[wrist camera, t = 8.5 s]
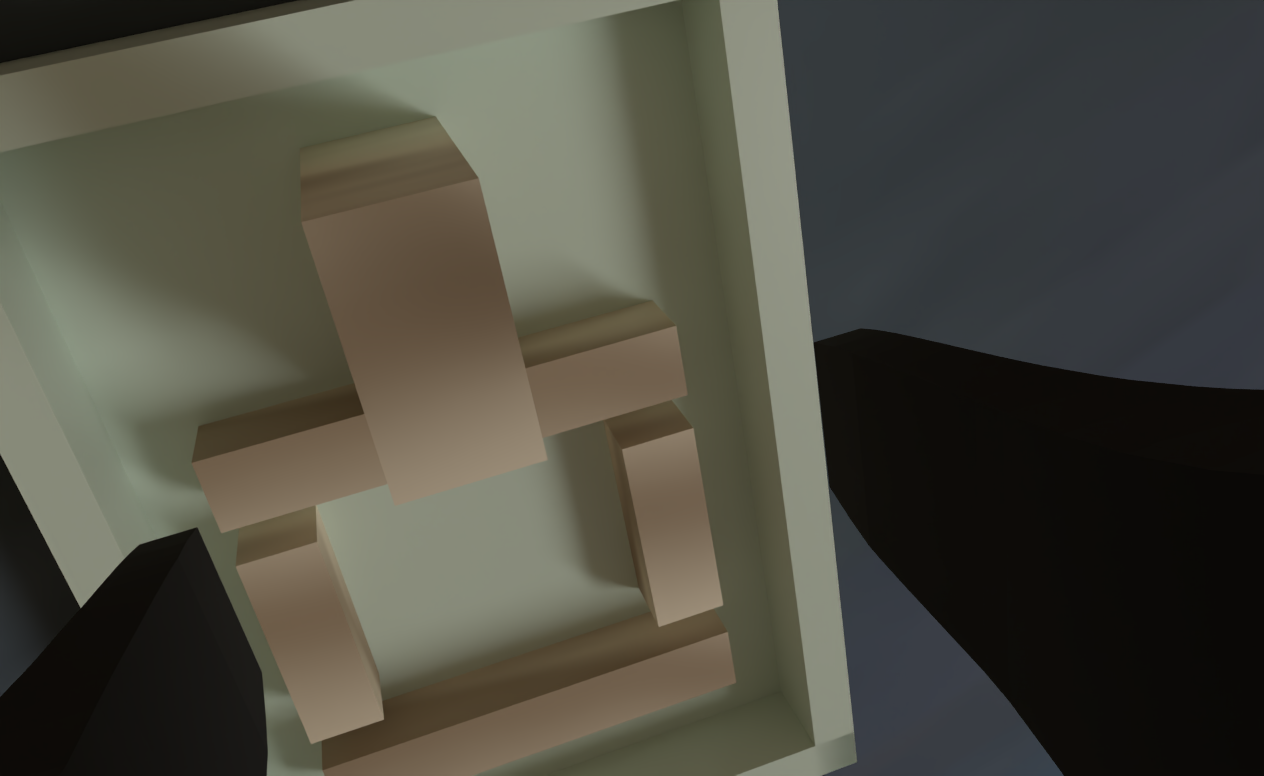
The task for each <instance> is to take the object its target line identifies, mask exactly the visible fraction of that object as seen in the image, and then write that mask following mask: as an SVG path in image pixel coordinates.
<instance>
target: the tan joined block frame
mask: <svg viewBox="0 0 1264 776" xmlns="http://www.w3.org/2000/svg"><path fill="white" fill-rule="evenodd" d="M300 184H301V223H302V226H303V229H304V232H305V235H306V238H307V241H308V244H309V248H310V251H311V254H312V257H313V260H314V263H315V266H316V269H317V272H318V275H319V278H320V281H321V284H322V287H323V290H324V293H325V296H326V299H327V302H328V305H329V308H330V311H331V314H332V317H333V320H334V323H335V326H336V329H337V332H338V335H339V338H340V341H341V344H342V347H343V350H344V354H345V357H346V360H347V363H348V366H349V369H350V372H351V375H352V378H353V381H354V383H353V384H349V385H346V386H342V387H338V388H335V389H331V390H328V391H324V392H320V393H317V394H313V395H309V396H306V397H302V398H299V399H295V400H291V401H288V402H284V403H281V404H277V405H273V406H270V407H266V408H263V409H259V410H255V411H252V412H248V413H245V414H241V415H237V416H234V417H230V418H227V419H223V420H219V421H216V422H212V423H209V424H205V425H201V426H198V431H197V436H196V441H195V447H194V452H193V457H192V462H191V463H192V466H193V468H194V470H195V473H196V475H197V477H198V480H199V482H200V484H201V487H202V489H203V492H204V494H205V496H206V499H207V501H208V503H209V506H210V508H211V510H212V513H213V515H214V517H215V520H216V522H217V524H218V527H219V529H220V531H221V533H224V532H227V531H231V530H234V529H237V528H239V534H238V545H237V556H236V566H235V567H236V569H237V571H238V574H239V576H240V578H241V581H242V583H243V585H244V588H245V590H246V592H247V595H248V597H249V599H250V602H251V604H252V606H253V609H254V611H255V614H256V616H257V618H258V621H259V623H260V625H261V628H262V630H263V632H264V635H265V637H266V639H267V642H268V644H269V646H270V649H271V651H272V653H273V656H274V658H275V660H276V663H277V665H278V667H279V670H280V672H281V675H282V677H283V679H284V682H285V684H286V686H287V689H288V691H289V693H290V696H291V698H292V700H293V703H294V705H295V707H296V710H297V712H298V714H299V717H300V719H301V721H302V724H303V726H304V728H305V731H306V733H307V736H308V738H309V740H310V743H311V744H313V743H316V742H319V741H322V771H323V773H324V775H325V776H473V775H475V774H478V773H481V772H484V771H487V770H490V769H493V768H495V767H498V766H501V765H504V764H507V763H510V762H512V761H515V760H518V759H521V758H524V757H527V756H529V755H532V754H535V753H538V752H541V751H544V750H547V749H549V748H552V747H555V746H558V745H561V744H564V743H566V742H569V741H572V740H575V739H578V738H581V737H583V736H586V735H589V734H592V733H595V732H598V731H601V730H603V729H606V728H609V727H612V726H615V725H618V724H620V723H623V722H626V721H629V720H632V719H635V718H637V717H640V716H643V715H646V714H649V713H652V712H655V711H657V710H660V709H663V708H666V707H669V706H672V705H674V704H677V703H680V702H683V701H686V700H689V699H691V698H694V697H697V696H700V695H703V694H706V693H709V692H711V691H714V690H717V689H720V688H723V687H726V686H728V685H731V684H734V683H736V677H735V672H734V666H733V660H732V654H731V648H730V642H729V636H728V631H727V630H726V628H725V626H724V625H723V623H722V621H721V620H720V618H719V616H718V615H717V613H716V611H715V610H714V608H717V607H720V606H723V600H722V594H721V588H720V583H719V577H718V571H717V565H716V559H715V553H714V547H713V541H712V535H711V529H710V523H709V517H708V511H707V505H706V499H705V494H704V488H703V482H702V476H701V470H700V464H699V458H698V452H697V446H696V440H695V434H694V428H693V427H692V425H691V424H690V423H689V422H688V420H687V419H686V418H685V416H684V415H683V414H682V413H681V411H680V410H679V409H678V407H677V406H676V405H675V404H674V402H673V401H672V400H673V399H676V398H680V397H683V396H686V395H688V393H687V387H686V381H685V375H684V369H683V363H682V357H681V351H680V345H679V339H678V333H677V327H676V325H675V324H674V323H673V322H672V321H671V320H670V319H669V317H668V316H667V315H666V314H665V313H664V312H663V311H662V310H661V309H660V308H659V307H658V306H657V304H656V303H655V302H654V301H653V300H652V301H648V302H645V303H641V304H638V305H634V306H630V307H627V308H623V309H620V310H616V311H612V312H609V313H605V314H602V315H598V316H594V317H591V318H587V319H584V320H580V321H576V322H573V323H569V324H565V325H562V326H558V327H555V328H551V329H547V330H544V331H540V332H537V333H533V334H529V335H526V336H522V337H519V338H518V336H517V332H516V328H515V324H514V319H513V315H512V311H511V307H510V303H509V299H508V295H507V291H506V287H505V283H504V279H503V275H502V270H501V266H500V262H499V258H498V254H497V250H496V246H495V242H494V238H493V234H492V230H491V226H490V221H489V217H488V213H487V209H486V205H485V201H484V197H483V193H482V189H481V185H480V181H479V178H478V176H477V175H476V173H475V172H474V170H473V169H472V168H471V166H470V165H469V163H468V162H467V160H466V159H465V158H464V156H463V155H462V153H461V152H460V150H459V149H458V148H457V146H456V145H455V143H454V142H453V140H452V139H451V138H450V136H449V135H448V133H447V132H446V130H445V129H444V127H443V126H442V125H441V123H440V122H439V120H438V119H437V117H436V116H435V117H431V118H427V119H422V120H418V121H414V122H410V123H405V124H401V125H397V126H393V127H388V128H384V129H380V130H376V131H371V132H367V133H363V134H359V135H354V136H350V137H346V138H342V139H337V140H333V141H329V142H324V143H320V144H316V145H312V146H307V147H303V148H300ZM602 420H603V422H604V427H605V432H606V436H607V441H608V446H609V450H610V455H611V460H612V464H613V469H614V474H615V479H616V483H617V488H618V493H619V497H620V502H621V507H622V511H623V516H624V521H625V526H626V530H627V535H628V540H629V544H630V549H631V554H632V558H633V563H634V568H635V573H636V577H637V582H638V587H639V589H640V591H641V593H642V595H643V597H644V599H645V601H646V603H647V605H648V607H649V609H650V611H651V612H648V613H645V614H642V615H639V616H636V617H633V618H630V619H627V620H624V621H621V622H618V623H615V624H612V625H609V626H606V627H603V628H600V629H597V630H594V631H591V632H588V633H585V634H582V635H579V636H576V637H573V638H570V639H567V640H564V641H561V642H558V643H555V644H552V645H549V646H546V647H543V648H540V649H537V650H534V651H531V652H528V653H525V654H522V655H519V656H516V657H513V658H510V659H507V660H504V661H501V662H498V663H495V664H492V665H489V666H486V667H483V668H480V669H477V670H474V671H471V672H468V673H465V674H462V675H459V676H456V677H453V678H450V679H447V680H444V681H441V682H438V683H435V684H432V685H429V686H426V687H423V688H420V689H417V690H414V691H411V692H408V693H405V694H402V695H399V696H396V697H393V698H390V699H387V700H384V701H382V696H381V686H380V677H379V672H378V669H377V666H376V664H375V661H374V658H373V656H372V653H371V650H370V648H369V645H368V642H367V639H366V637H365V634H364V631H363V629H362V626H361V623H360V621H359V618H358V615H357V612H356V610H355V607H354V604H353V602H352V599H351V596H350V594H349V591H348V588H347V585H346V583H345V580H344V577H343V575H342V572H341V569H340V567H339V564H338V561H337V559H336V556H335V553H334V550H333V548H332V545H331V542H330V540H329V537H328V534H327V532H326V529H325V526H324V523H323V521H322V518H321V515H320V513H319V510H318V507H317V505H318V504H322V503H325V502H329V501H332V500H335V499H339V498H342V497H345V496H349V495H352V494H356V493H359V492H362V491H366V490H369V489H372V488H376V487H379V486H383V485H386V484H388V487H389V490H390V493H391V496H392V499H393V502H394V505H395V506H396V505H400V504H403V503H406V502H410V501H413V500H416V499H420V498H423V497H426V496H430V495H433V494H436V493H440V492H443V491H446V490H450V489H453V488H456V487H460V486H463V485H466V484H470V483H473V482H476V481H480V480H483V479H486V478H490V477H493V476H496V475H499V474H503V473H506V472H509V471H513V470H516V469H519V468H523V467H526V466H529V465H533V464H536V463H539V462H543V461H546V460H548V458H547V454H546V450H545V446H544V442H543V438H545V437H548V436H551V435H555V434H558V433H561V432H565V431H568V430H572V429H575V428H578V427H582V426H585V425H588V424H592V423H595V422H599V421H602Z"/></svg>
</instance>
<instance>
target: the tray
mask: <svg viewBox="0 0 1264 776" xmlns="http://www.w3.org/2000/svg"><path fill="white" fill-rule="evenodd" d="M435 116H436V117H437V119H438V120H439V122H440V123H441V125H442V126H443V127H444V129H445V130H446V132H447V133H448V135H449V136H450V138H451V139H452V140H453V142H454V143H455V145H456V146H457V148H458V149H459V150H460V152H461V153H462V155H463V156H464V158H465V159H466V160H467V162H468V163H469V165H470V166H471V168H472V169H473V170H474V172H475V173H476V175H477V176H478V178H479V181H480V185H481V189H482V193H483V197H484V201H485V205H486V209H487V213H488V217H489V221H490V226H491V230H492V234H493V238H494V242H495V246H496V250H497V254H498V258H499V262H500V266H501V270H502V275H503V279H504V283H505V287H506V291H507V295H508V299H509V303H510V307H511V311H512V315H513V319H514V324H515V328H516V332H517V336H518V338H519V337H522V336H526V335H529V334H533V333H537V332H540V331H544V330H547V329H551V328H555V327H558V326H562V325H565V324H569V323H573V322H576V321H580V320H584V319H587V318H591V317H594V316H598V315H602V314H605V313H609V312H612V311H616V310H620V309H623V308H627V307H630V306H634V305H638V304H641V303H645V302H648V301H652V300H653V301H654V302H655V303H656V304H657V306H658V307H659V308H660V309H661V310H662V311H663V312H664V313H665V314H666V315H667V316H668V317H669V319H670V320H671V321H672V322H673V323H674V324H675V325H676V327H677V333H678V339H679V345H680V351H681V357H682V363H683V369H684V375H685V381H686V387H687V393H688V395H686V396H683V397H680V398H676V399H673V400H672V401H673V402H674V404H675V405H676V406H677V407H678V409H679V410H680V411H681V413H682V414H683V415H684V416H685V418H686V419H687V420H688V422H689V423H690V424H691V425H692V427H693V428H694V434H695V440H696V446H697V452H698V458H699V464H700V470H701V476H702V482H703V488H704V494H705V499H706V505H707V511H708V517H709V523H710V529H711V535H712V541H713V547H714V553H715V559H716V565H717V571H718V577H719V583H720V588H721V594H722V600H723V606H720V607H717V608H714V610H715V611H716V613H717V615H718V616H719V618H720V620H721V621H722V623H723V625H724V626H725V628H726V630H727V631H728V636H729V642H730V648H731V654H732V660H733V666H734V672H735V677H736V683H734V684H731V685H728V686H726V687H723V688H720V689H717V690H714V691H711V692H709V693H706V694H703V695H700V696H697V697H694V698H691V699H689V700H686V701H683V702H680V703H677V704H674V705H672V706H669V707H666V708H663V709H660V710H657V711H655V712H652V713H649V714H646V715H643V716H640V717H637V718H635V719H632V720H629V721H626V722H623V723H620V724H618V725H615V726H612V727H609V728H606V729H603V730H601V731H598V732H595V733H592V734H589V735H586V736H583V737H581V738H578V739H575V740H572V741H569V742H566V743H564V744H561V745H558V746H555V747H552V748H549V749H547V750H544V751H541V752H538V753H535V754H532V755H529V756H527V757H524V758H521V759H518V760H515V761H512V762H510V763H507V764H504V765H501V766H498V767H495V768H493V769H490V770H487V771H484V772H481V773H478V774H475V775H473V776H821V775H824V774H826V773H829V772H832V771H834V770H837V769H840V768H842V767H845V766H848V765H850V764H853V763H856V762H857V757H856V747H855V738H854V728H853V719H852V709H851V700H850V690H849V681H848V671H847V662H846V652H845V643H844V633H843V624H842V614H841V605H840V595H839V586H838V576H837V567H836V557H835V547H834V538H833V528H832V519H831V509H830V500H829V490H828V481H827V471H826V462H825V452H824V443H823V433H822V424H821V414H820V405H819V395H818V386H817V376H816V366H815V357H814V347H813V338H812V328H811V319H810V309H809V300H808V290H807V281H806V271H805V262H804V252H803V243H802V233H801V224H800V214H799V205H798V195H797V186H796V176H795V166H794V157H793V147H792V138H791V128H790V119H789V109H788V100H787V90H786V81H785V71H784V62H783V52H782V43H781V33H780V24H779V14H778V5H777V0H298V1H293V2H288V3H283V4H279V5H274V6H269V7H264V8H260V9H255V10H250V11H245V12H240V13H236V14H231V15H226V16H221V17H217V18H212V19H207V20H202V21H198V22H193V23H188V24H183V25H179V26H174V27H169V28H164V29H160V30H155V31H150V32H145V33H141V34H136V35H131V36H126V37H122V38H117V39H112V40H107V41H102V42H98V43H93V44H88V45H83V46H79V47H74V48H69V49H64V50H60V51H55V52H50V53H45V54H41V55H36V56H31V57H26V58H22V59H17V60H12V61H7V62H3V63H0V454H1V456H2V458H3V460H4V462H5V464H6V466H7V468H8V470H9V472H10V474H11V475H12V477H13V479H14V481H15V483H16V485H17V487H18V489H19V491H20V493H21V495H22V497H23V499H24V500H25V502H26V504H27V506H28V508H29V510H30V512H31V514H32V516H33V518H34V520H35V522H36V523H37V525H38V527H39V529H40V531H41V533H42V535H43V537H44V539H45V541H46V543H47V545H48V546H49V548H50V550H51V552H52V554H53V556H54V558H55V560H56V562H57V564H58V566H59V568H60V569H61V571H62V573H63V575H64V577H65V579H66V581H67V583H68V585H69V587H70V589H71V591H72V592H73V594H74V596H75V598H76V600H77V602H78V604H79V606H80V608H81V607H82V606H83V605H84V604H85V603H86V602H87V600H88V599H89V598H90V597H91V596H92V595H93V593H94V592H95V591H96V590H97V589H98V588H99V587H100V585H101V584H102V583H103V582H104V581H105V580H106V578H107V577H108V576H109V575H110V574H111V573H112V572H113V571H114V569H115V568H116V567H117V566H118V565H119V564H120V563H121V562H122V561H123V560H124V559H125V558H126V556H127V555H128V554H129V553H131V552H132V551H133V550H134V549H135V548H136V547H137V546H138V545H139V544H143V543H146V542H149V541H153V540H156V539H159V538H163V537H166V536H169V535H173V534H176V533H179V532H183V531H186V530H189V529H193V528H196V527H198V530H199V532H200V534H201V536H202V539H203V541H204V543H205V545H206V548H207V550H208V552H209V554H210V557H211V559H212V561H213V563H214V566H215V568H216V570H217V572H218V575H219V577H220V579H221V581H222V584H223V586H224V588H225V590H226V593H227V595H228V597H229V599H230V602H231V604H232V606H233V608H234V611H235V613H236V615H237V617H238V619H239V622H240V624H241V626H242V628H243V631H244V633H245V635H246V637H247V640H248V642H249V644H250V646H251V649H252V651H253V653H254V655H255V658H256V660H257V662H258V664H259V667H260V669H261V671H262V677H263V689H264V700H265V712H266V727H267V744H268V761H267V776H325V775H324V773H323V771H322V741H319V742H316V743H313V744H311V743H310V740H309V738H308V736H307V733H306V731H305V728H304V726H303V724H302V721H301V719H300V717H299V714H298V712H297V710H296V707H295V705H294V703H293V700H292V698H291V696H290V693H289V691H288V689H287V686H286V684H285V682H284V679H283V677H282V675H281V672H280V670H279V667H278V665H277V663H276V660H275V658H274V656H273V653H272V651H271V649H270V646H269V644H268V642H267V639H266V637H265V635H264V632H263V630H262V628H261V625H260V623H259V621H258V618H257V616H256V614H255V611H254V609H253V606H252V604H251V602H250V599H249V597H248V595H247V592H246V590H245V588H244V585H243V583H242V581H241V578H240V576H239V574H238V571H237V569H236V567H235V566H236V556H237V545H238V534H239V528H237V529H234V530H231V531H227V532H224V533H221V531H220V529H219V527H218V524H217V522H216V520H215V517H214V515H213V513H212V510H211V508H210V506H209V503H208V501H207V499H206V496H205V494H204V492H203V489H202V487H201V484H200V482H199V480H198V477H197V475H196V473H195V470H194V468H193V466H192V463H191V462H192V457H193V452H194V447H195V441H196V436H197V431H198V426H201V425H205V424H209V423H212V422H216V421H219V420H223V419H227V418H230V417H234V416H237V415H241V414H245V413H248V412H252V411H255V410H259V409H263V408H266V407H270V406H273V405H277V404H281V403H284V402H288V401H291V400H295V399H299V398H302V397H306V396H309V395H313V394H317V393H320V392H324V391H328V390H331V389H335V388H338V387H342V386H346V385H349V384H353V383H354V381H353V378H352V375H351V372H350V369H349V366H348V363H347V360H346V357H345V354H344V350H343V347H342V344H341V341H340V338H339V335H338V332H337V329H336V326H335V323H334V320H333V317H332V314H331V311H330V308H329V305H328V302H327V299H326V296H325V293H324V290H323V287H322V284H321V281H320V278H319V275H318V272H317V269H316V266H315V263H314V260H313V257H312V254H311V251H310V248H309V244H308V241H307V238H306V235H305V232H304V229H303V226H302V223H301V184H300V148H303V147H307V146H312V145H316V144H320V143H324V142H329V141H333V140H337V139H342V138H346V137H350V136H354V135H359V134H363V133H367V132H371V131H376V130H380V129H384V128H388V127H393V126H397V125H401V124H405V123H410V122H414V121H418V120H422V119H427V118H431V117H435ZM543 442H544V446H545V450H546V454H547V458H548V460H546V461H543V462H539V463H536V464H533V465H529V466H526V467H523V468H519V469H516V470H513V471H509V472H506V473H503V474H499V475H496V476H493V477H490V478H486V479H483V480H480V481H476V482H473V483H470V484H466V485H463V486H460V487H456V488H453V489H450V490H446V491H443V492H440V493H436V494H433V495H430V496H426V497H423V498H420V499H416V500H413V501H410V502H406V503H403V504H400V505H396V506H395V505H394V502H393V499H392V496H391V493H390V490H389V487H388V484H386V485H383V486H379V487H376V488H372V489H369V490H366V491H362V492H359V493H356V494H352V495H349V496H345V497H342V498H339V499H335V500H332V501H329V502H325V503H322V504H318V505H317V507H318V510H319V513H320V515H321V518H322V521H323V523H324V526H325V529H326V532H327V534H328V537H329V540H330V542H331V545H332V548H333V550H334V553H335V556H336V559H337V561H338V564H339V567H340V569H341V572H342V575H343V577H344V580H345V583H346V585H347V588H348V591H349V594H350V596H351V599H352V602H353V604H354V607H355V610H356V612H357V615H358V618H359V621H360V623H361V626H362V629H363V631H364V634H365V637H366V639H367V642H368V645H369V648H370V650H371V653H372V656H373V658H374V661H375V664H376V666H377V669H378V672H379V677H380V686H381V696H382V701H384V700H387V699H390V698H393V697H396V696H399V695H402V694H405V693H408V692H411V691H414V690H417V689H420V688H423V687H426V686H429V685H432V684H435V683H438V682H441V681H444V680H447V679H450V678H453V677H456V676H459V675H462V674H465V673H468V672H471V671H474V670H477V669H480V668H483V667H486V666H489V665H492V664H495V663H498V662H501V661H504V660H507V659H510V658H513V657H516V656H519V655H522V654H525V653H528V652H531V651H534V650H537V649H540V648H543V647H546V646H549V645H552V644H555V643H558V642H561V641H564V640H567V639H570V638H573V637H576V636H579V635H582V634H585V633H588V632H591V631H594V630H597V629H600V628H603V627H606V626H609V625H612V624H615V623H618V622H621V621H624V620H627V619H630V618H633V617H636V616H639V615H642V614H645V613H648V612H651V611H650V609H649V607H648V605H647V603H646V601H645V599H644V597H643V595H642V593H641V591H640V589H639V587H638V582H637V577H636V573H635V568H634V563H633V558H632V554H631V549H630V544H629V540H628V535H627V530H626V526H625V521H624V516H623V511H622V507H621V502H620V497H619V493H618V488H617V483H616V479H615V474H614V469H613V464H612V460H611V455H610V450H609V446H608V441H607V436H606V432H605V427H604V422H603V420H602V421H599V422H595V423H592V424H588V425H585V426H582V427H578V428H575V429H572V430H568V431H565V432H561V433H558V434H555V435H551V436H548V437H545V438H543Z"/></svg>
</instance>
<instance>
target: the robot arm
mask: <svg viewBox="0 0 1264 776" xmlns="http://www.w3.org/2000/svg"><path fill="white" fill-rule="evenodd" d="M814 349H815V358H816V367H817V376H818V385H819V394H820V403H821V412H822V421H823V430H824V439H825V448H826V457H827V466H828V475H829V484H830V488H831V490H832V491H833V493H834V494H835V496H836V497H837V499H838V500H839V502H840V504H841V505H842V507H843V508H844V510H845V511H846V513H847V514H848V516H849V517H850V519H851V520H852V522H853V523H854V525H855V526H856V528H857V529H858V530H859V532H860V533H861V535H862V536H863V538H864V539H865V541H866V542H867V543H868V545H869V546H870V548H871V549H872V550H873V551H874V552H875V553H876V554H877V556H878V557H879V558H880V559H881V560H882V561H883V562H884V563H885V565H886V566H887V567H888V568H889V569H890V570H891V571H892V572H893V573H894V574H895V576H896V577H897V578H898V579H899V580H900V581H901V582H902V583H903V584H904V585H905V587H906V588H907V589H908V590H909V591H910V592H911V593H912V594H913V595H914V596H915V597H916V598H917V600H918V601H919V602H920V603H921V604H922V605H923V606H924V607H925V608H926V609H927V610H928V611H929V613H930V614H931V615H932V616H933V617H934V618H935V619H936V620H937V621H938V622H939V623H940V624H941V625H942V627H943V628H944V629H945V630H946V631H947V632H948V633H949V634H950V635H951V636H952V637H953V638H954V639H955V641H956V642H957V643H958V644H959V645H960V646H961V647H962V648H963V649H964V650H965V651H966V652H967V653H968V655H969V656H970V657H971V658H972V659H973V660H974V661H975V662H976V663H977V664H978V665H979V666H980V668H981V669H982V670H983V671H984V672H985V673H986V674H987V675H988V677H989V678H990V679H991V680H992V681H993V683H994V684H995V685H996V686H997V687H998V688H999V690H1000V691H1001V692H1002V693H1003V694H1004V696H1005V697H1006V698H1007V699H1008V700H1009V702H1010V703H1011V704H1012V705H1013V707H1014V708H1015V710H1016V711H1017V712H1018V714H1019V715H1020V716H1021V718H1022V719H1023V720H1024V722H1025V723H1026V724H1027V726H1028V727H1029V729H1030V730H1031V731H1032V733H1033V734H1034V735H1035V737H1036V738H1037V739H1038V741H1039V742H1040V743H1041V745H1042V746H1043V748H1044V749H1045V750H1046V752H1047V753H1048V754H1049V756H1050V757H1051V758H1052V760H1053V761H1054V762H1055V764H1056V765H1057V767H1058V768H1059V769H1060V771H1061V772H1062V774H1063V775H1064V776H1264V390H1250V389H1225V388H1209V387H1195V386H1184V385H1175V384H1165V383H1155V382H1145V381H1136V380H1127V379H1120V378H1113V377H1106V376H1099V375H1093V374H1087V373H1082V372H1076V371H1070V370H1064V369H1059V368H1053V367H1047V366H1042V365H1037V364H1032V363H1027V362H1022V361H1018V360H1013V359H1008V358H1004V357H999V356H995V355H990V354H986V353H981V352H977V351H973V350H968V349H964V348H960V347H955V346H951V345H947V344H942V343H938V342H934V341H929V340H925V339H920V338H916V337H911V336H906V335H902V334H897V333H891V332H886V331H879V330H871V329H857V330H854V331H851V332H847V333H844V334H841V335H837V336H834V337H831V338H827V339H824V340H821V341H817V342H814ZM267 761H268V744H267V727H266V712H265V700H264V689H263V677H262V671H261V669H260V667H259V664H258V662H257V660H256V658H255V655H254V653H253V651H252V649H251V646H250V644H249V642H248V640H247V637H246V635H245V633H244V631H243V628H242V626H241V624H240V622H239V619H238V617H237V615H236V613H235V611H234V608H233V606H232V604H231V602H230V599H229V597H228V595H227V593H226V590H225V588H224V586H223V584H222V581H221V579H220V577H219V575H218V572H217V570H216V568H215V566H214V563H213V561H212V559H211V557H210V554H209V552H208V550H207V548H206V545H205V543H204V541H203V539H202V536H201V534H200V532H199V530H198V527H196V528H193V529H189V530H186V531H183V532H179V533H176V534H173V535H169V536H166V537H163V538H159V539H156V540H153V541H149V542H146V543H143V544H139V545H138V546H137V547H136V548H135V549H134V550H133V551H132V552H131V553H129V554H128V555H127V556H126V558H125V559H124V560H123V561H122V562H121V563H120V564H119V565H118V566H117V567H116V568H115V569H114V571H113V572H112V573H111V574H110V575H109V576H108V577H107V578H106V580H105V581H104V582H103V583H102V584H101V585H100V587H99V588H98V589H97V590H96V591H95V592H94V593H93V595H92V596H91V597H90V598H89V599H88V600H87V602H86V603H85V604H84V605H83V606H82V607H81V609H80V610H79V611H78V612H77V613H76V614H75V615H74V617H73V618H72V619H71V620H70V621H69V622H68V623H67V625H66V626H65V627H64V628H63V629H62V630H61V631H60V633H59V634H58V635H57V636H56V637H55V638H54V639H53V641H52V642H51V643H50V644H49V645H48V646H47V647H46V649H45V650H44V651H43V652H42V653H41V654H40V655H39V657H38V658H37V659H36V660H35V661H34V662H33V663H32V664H31V665H30V667H29V668H28V669H27V670H26V671H25V672H24V673H23V674H22V675H21V676H20V677H19V678H18V679H17V680H16V681H15V682H14V683H13V684H12V685H11V686H10V687H9V689H8V690H7V691H6V692H5V693H4V694H3V695H2V696H1V697H0V776H267Z"/></svg>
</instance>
